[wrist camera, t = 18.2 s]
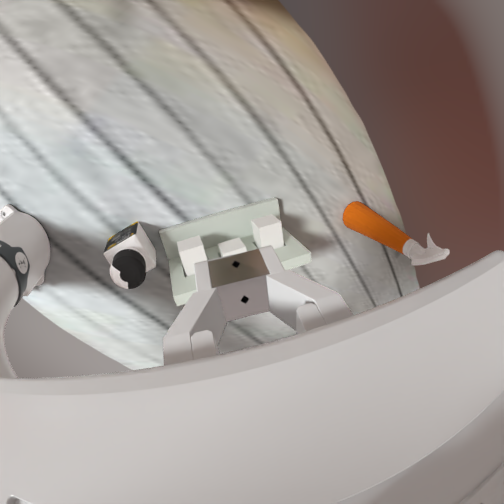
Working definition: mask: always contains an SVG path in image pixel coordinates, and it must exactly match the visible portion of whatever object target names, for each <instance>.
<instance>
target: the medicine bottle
mask: <svg viewBox="0 0 504 504" xmlns="http://www.w3.org/2000/svg"><path fill="white" fill-rule="evenodd" d="M103 255H104V257H105V258H106V259H107V261H108V262H109V264H110V265H111V267H110V276H111V278H112V280H113V282H114V283H115V284H116V285H118V286H119V287H122V288H125V289H132V288H136V287H138V286H140V285H141V284H142V283H143V281H144V279H145V276H146V272H148V271H149V270H151V269H153V268H155V267H156V249H155V248H154V246H153V244H152V243H151V241H150V240H149V238H148V236H147V235H146V233H145V231H144V230H143V228H142V226H141V225H140V223H139V222H138V221H137V222H135V223H133V224H132V225H130V226H128V227H127V228H125V229H123V230H122V231H120V232H118V233H117V234H115V235H113V236H112V237H110V238H109V240H108V242H107V245H106V248H105V251H104V253H103Z"/></svg>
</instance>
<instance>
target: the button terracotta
mask: <svg viewBox="0 0 504 504" xmlns="http://www.w3.org/2000/svg"><path fill="white" fill-rule="evenodd" d="M251 223H252V229H253V235H254V240H255V246H256V248H257V249H258V248H261V247H265V246H269V245H271V246H272V247H273V249H277V248H281V247H284V241H283V233H282V225H281V221H280V220H279V219H277V218H276V217H275V216H274V215H272V214H270V215H267V216H263V217H260V218H256V219H253V220H251Z"/></svg>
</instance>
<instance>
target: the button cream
mask: <svg viewBox="0 0 504 504" xmlns="http://www.w3.org/2000/svg"><path fill="white" fill-rule="evenodd" d="M218 248H219V252H220V256H221V257H224V256H229V255H234V254H238V253H243V252H247V250H246V246H245V245H244V243H243V242H242V241H241V239H240V238H235V239H232V240H229V241H225V242H222V243H219V244H218Z"/></svg>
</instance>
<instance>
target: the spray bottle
mask: <svg viewBox="0 0 504 504" xmlns="http://www.w3.org/2000/svg"><path fill="white" fill-rule="evenodd" d="M343 221H344V224H345V225H346V226H347V227H348V228H350V229H352V230H354V231H357V232H359V233H361V234H363V235H365V236H367V237H369V238H371V239H373V240H375V241H378V242H380V243H382V244H384V245H386V246H388V247H390V248H392V249H394V250H396V251H398V252H400V253H402V254H404V255H406V256H407V257H409V258H410V259H412V265H425V264H428V263H431V262H435V261H439V260H442V259H445V258H446V256H448V255H449V252H450V251H449V249H441V248H440V247H437V246H436V245H435V244H434V242H433V241H432V239H431V237H430V235H429V233H428V236H427V245H428V247H427V248H425V249H424V248H423V247H421V246H420V244H419V243H418V242H416V241H415V240H413V239H412V238H410V237H409V236H408V235H406V234H405V233H404V232H402V231H401V230H400V229H398V228H397V227H396V226H394V225H393V224H391V223H390V222H389V221H387V220H386V219H384V218H383V217H382V216H380V215H379V214H377V213H376V212H374V211H373V210H371V209H370V208H368V207H367V206H365V205H364V204H362V203H361V202H358V201H356V202H352V203H350V204H349V205H348V206H347V207H346V209H345V211H344V213H343Z"/></svg>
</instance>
